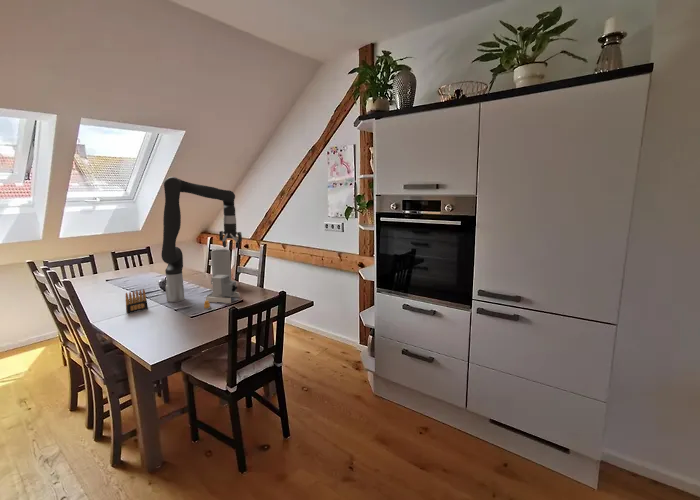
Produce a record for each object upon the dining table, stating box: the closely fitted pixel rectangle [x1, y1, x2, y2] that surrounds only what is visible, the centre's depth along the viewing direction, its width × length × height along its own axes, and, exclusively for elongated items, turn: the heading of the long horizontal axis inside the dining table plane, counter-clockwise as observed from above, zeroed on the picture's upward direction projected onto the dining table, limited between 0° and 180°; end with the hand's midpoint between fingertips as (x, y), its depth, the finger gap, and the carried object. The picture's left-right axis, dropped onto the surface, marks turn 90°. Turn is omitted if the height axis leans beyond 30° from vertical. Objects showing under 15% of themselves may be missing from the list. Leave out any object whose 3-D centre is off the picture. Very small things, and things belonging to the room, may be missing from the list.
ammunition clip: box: [125, 288, 149, 315], centre depth 203 cm, size 11×2×12 cm, turn 138°
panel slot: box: [205, 291, 240, 304], centre depth 224 cm, size 16×12×4 cm
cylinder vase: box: [210, 248, 233, 281], centre depth 251 cm, size 12×12×25 cm
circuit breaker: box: [210, 275, 238, 298], centre depth 222 cm, size 8×14×15 cm, turn 82°
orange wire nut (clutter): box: [203, 300, 211, 309], centre depth 210 cm, size 3×3×4 cm
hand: (231, 247), depth 229 cm, fingers open, 8 cm apart
